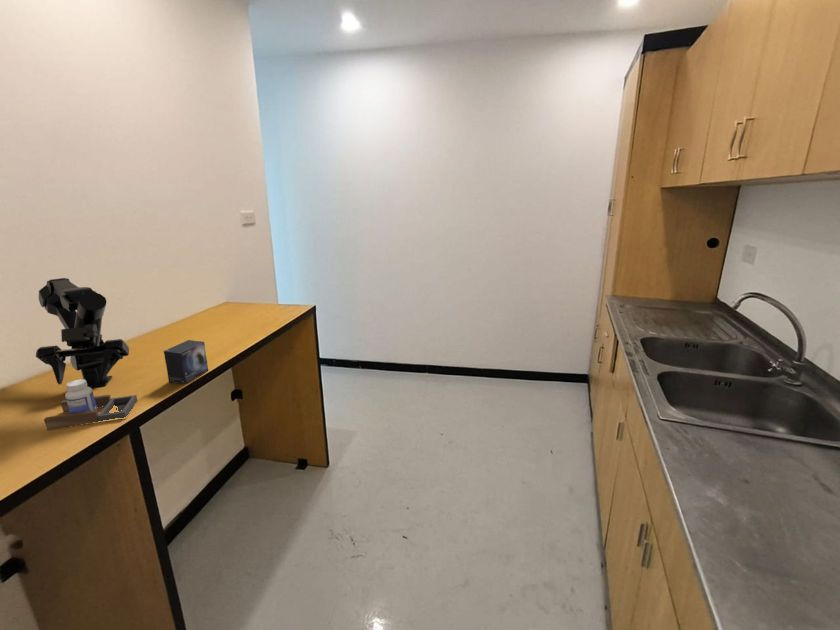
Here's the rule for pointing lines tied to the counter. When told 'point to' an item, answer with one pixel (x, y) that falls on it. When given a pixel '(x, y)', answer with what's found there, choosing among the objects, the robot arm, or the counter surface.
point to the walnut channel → (76, 415)
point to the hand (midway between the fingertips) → (81, 381)
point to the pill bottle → (80, 397)
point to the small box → (186, 361)
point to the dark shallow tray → (121, 403)
